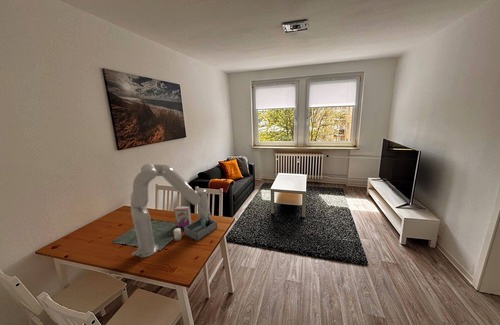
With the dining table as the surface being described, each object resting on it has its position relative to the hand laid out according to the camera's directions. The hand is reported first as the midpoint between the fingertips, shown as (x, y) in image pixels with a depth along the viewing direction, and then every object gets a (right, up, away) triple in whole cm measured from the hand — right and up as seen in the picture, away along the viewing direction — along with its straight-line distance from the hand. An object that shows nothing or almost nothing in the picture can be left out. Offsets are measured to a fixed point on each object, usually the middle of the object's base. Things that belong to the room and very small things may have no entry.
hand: (205, 225), depth 157 cm
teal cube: (0, -1, 0) cm, 1 cm away
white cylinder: (-18, -7, -10) cm, 22 cm away
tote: (-3, -4, -3) cm, 6 cm away
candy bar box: (-19, -2, +6) cm, 20 cm away
